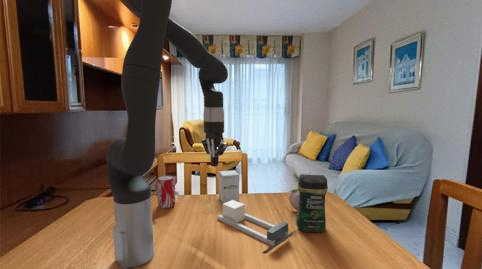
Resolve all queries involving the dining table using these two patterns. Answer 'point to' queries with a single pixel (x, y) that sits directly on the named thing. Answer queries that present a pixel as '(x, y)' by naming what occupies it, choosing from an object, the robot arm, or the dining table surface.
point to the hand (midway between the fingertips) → (214, 166)
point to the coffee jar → (312, 203)
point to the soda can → (166, 191)
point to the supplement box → (228, 186)
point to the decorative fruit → (294, 198)
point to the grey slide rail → (273, 234)
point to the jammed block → (234, 210)
